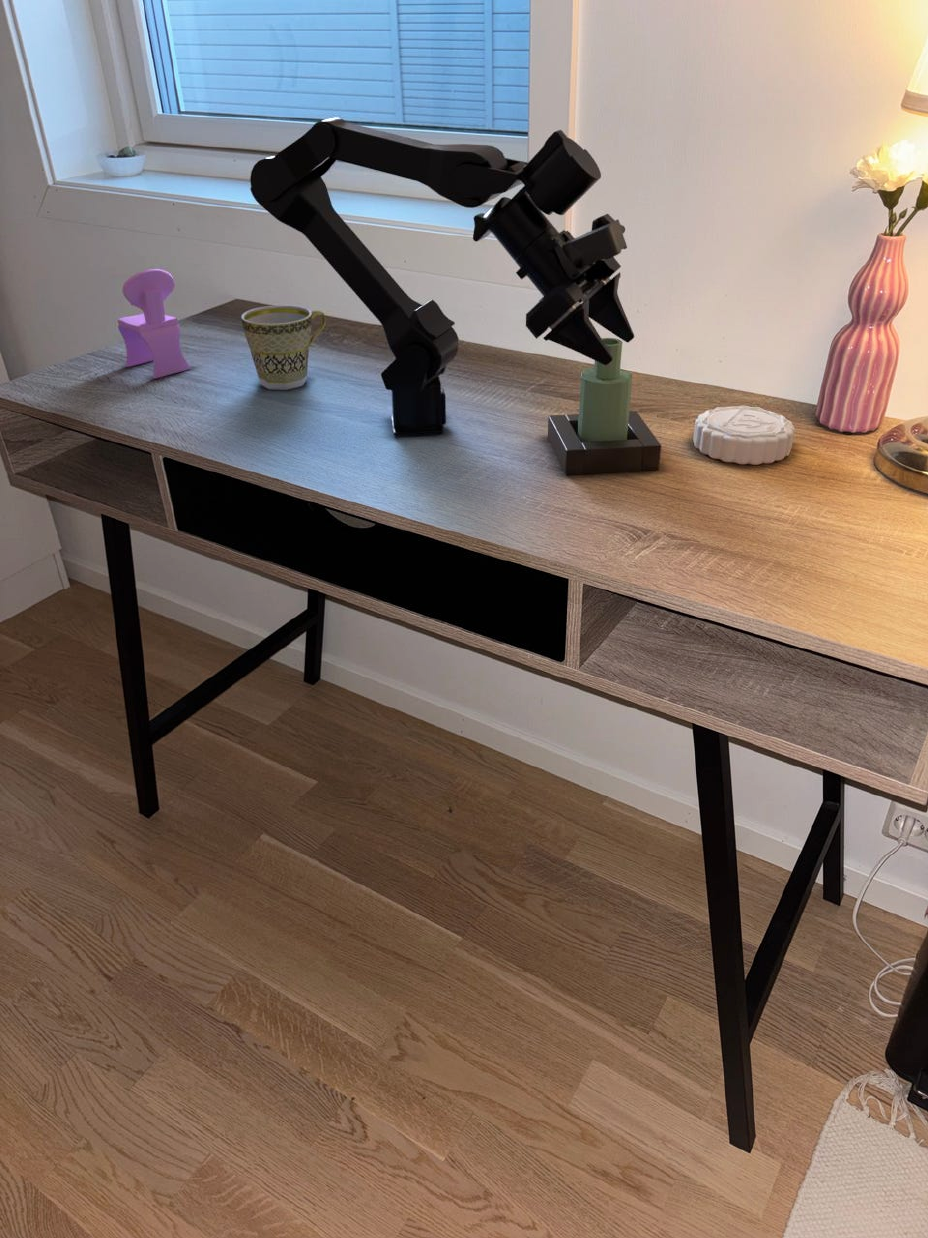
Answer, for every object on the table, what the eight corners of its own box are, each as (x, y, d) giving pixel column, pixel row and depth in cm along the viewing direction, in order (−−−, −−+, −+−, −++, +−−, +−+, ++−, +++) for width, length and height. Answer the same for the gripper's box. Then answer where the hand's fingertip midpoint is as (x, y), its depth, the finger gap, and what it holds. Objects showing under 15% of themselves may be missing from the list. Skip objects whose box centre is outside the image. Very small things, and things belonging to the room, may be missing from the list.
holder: (565, 475, 116) (566, 450, 114) (547, 438, 125) (548, 415, 123) (658, 470, 117) (661, 445, 115) (634, 434, 126) (636, 410, 125)
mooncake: (774, 473, 116) (779, 444, 114) (678, 452, 121) (681, 425, 119) (802, 440, 124) (807, 413, 122) (712, 422, 130) (715, 396, 128)
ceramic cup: (270, 399, 138) (262, 328, 133) (237, 381, 145) (228, 313, 140) (347, 379, 145) (342, 311, 140) (312, 363, 152) (306, 297, 146)
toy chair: (166, 355, 156) (148, 257, 148) (196, 367, 150) (180, 266, 142) (118, 367, 151) (98, 266, 143) (148, 380, 146) (129, 276, 137)
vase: (587, 466, 118) (595, 351, 110) (569, 447, 123) (575, 336, 115) (633, 460, 119) (643, 346, 112) (613, 442, 124) (622, 332, 117)
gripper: (557, 207, 99) (654, 328, 101) (609, 180, 113) (692, 286, 116) (485, 280, 106) (577, 392, 108) (543, 246, 120) (623, 344, 123)
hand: (620, 350), depth 113 cm, fingers open, 9 cm apart
